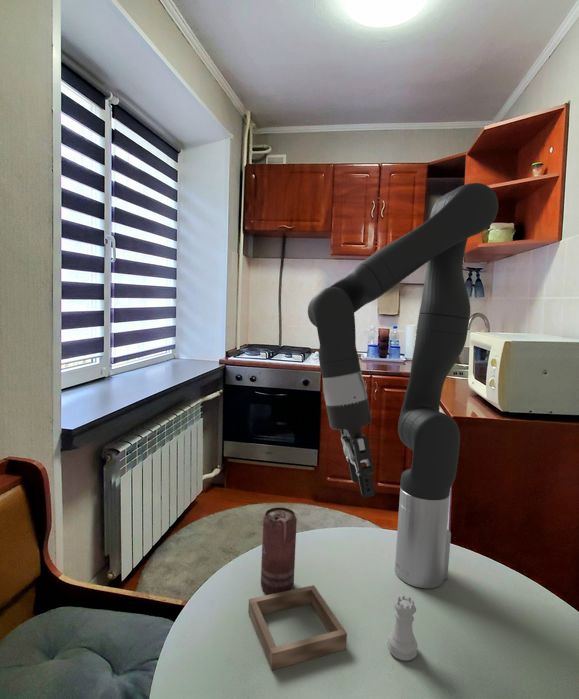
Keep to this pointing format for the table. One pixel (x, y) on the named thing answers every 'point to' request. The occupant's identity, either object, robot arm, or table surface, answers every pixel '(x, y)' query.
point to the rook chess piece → (403, 631)
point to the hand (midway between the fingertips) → (363, 488)
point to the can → (278, 550)
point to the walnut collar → (301, 648)
